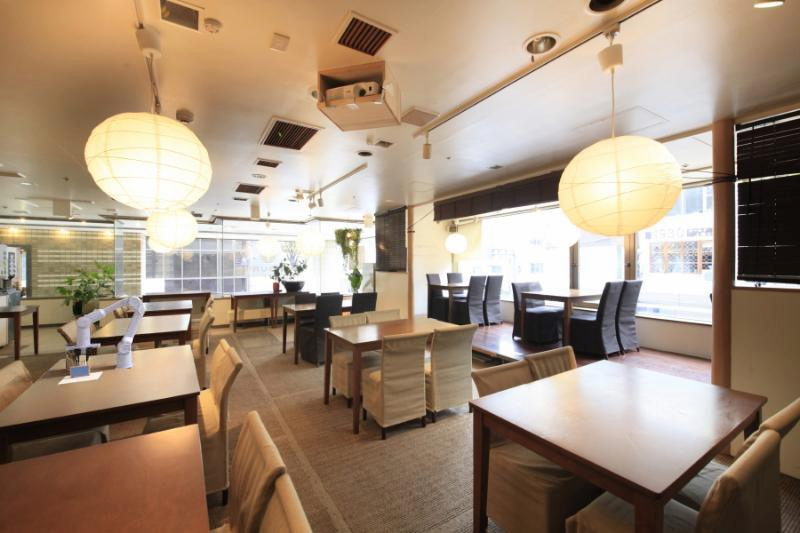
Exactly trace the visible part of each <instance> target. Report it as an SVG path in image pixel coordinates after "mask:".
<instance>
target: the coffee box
mask: <svg viewBox="0 0 800 533" xmlns="http://www.w3.org/2000/svg"><path fill="white" fill-rule="evenodd" d="M75 345H77V341H75V342H74V341H73V342H70V343H66V344H65V347H64V348H65V349H66V347H67V346H75ZM86 349H87V348H85V349H81V354H82V353H86ZM74 366H79V361H78V358H77V356H76V354H75V353H74V350H67V351H66V350H65V371H69V372H70V367H74Z"/></svg>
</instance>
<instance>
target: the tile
mask: <svg viewBox="0 0 800 533" xmlns="http://www.w3.org/2000/svg"><path fill="white" fill-rule="evenodd" d="M90 373H91V364H88V365H82V366H74V367H70V371H69V376H70V378H76V377H84V376H90Z"/></svg>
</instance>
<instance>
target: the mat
mask: <svg viewBox="0 0 800 533" xmlns="http://www.w3.org/2000/svg"><path fill="white" fill-rule="evenodd" d="M102 374H103V371H97V372H90V376H84V377H76V378H70V375H65V376H64V377H63V378H62V379H61V381H59V382H58V384H57V385H63V384H64V385H65V384H70V383H71V384H72V383H79V382H80V383H81V382H87V381H95V380H98V379H99V378H100V376H102Z"/></svg>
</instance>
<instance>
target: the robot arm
mask: <svg viewBox="0 0 800 533" xmlns="http://www.w3.org/2000/svg"><path fill="white" fill-rule="evenodd" d="M128 306H129V307H130V308H132V310H133V312H134V313H133V315H132V317H131V320H130V322H129V324H128V326H127V329H126V331H125V333H124V335H123V337H122V338H121V340H120V341H119V342H118V343H117V345H116V348H117V352H116V367H115V368H114V370H120V369H130V368H133V366H134V362H133V360H132V359H133V356H132V353H133V351H132V343H133V340H134V337H135V335H136V333H137V330H138V327H139V326H140V323H141V321H142V319H143V316H144V315H145V313H146V309H145V307H144V303H143V301H142V300H141V299H140V298H139V297H138V296H137V295H129V296H128V297H125V298H122V299H120V300H117V301H116V302H115V303H112V304H111V305H109V306H107V307H105V308H103V309H101V308H98V309H97V308H95V309H94V310H93V311H92V312H90V313H88V314H83V316H81V317H78V319H77V320H76V342H77V345H75V346H67V347H66V348H65V352H66V351H67V350H74V353H75V354H76V356H77V358H78V361H79V356H80V355H81V349H85V348H87V349H86V361H88V362H89V358H90V355H91V353H92V351H93V349H95V348H98V349H99V348H101V343H91V329H90V325H91V324H94V323H96V322H98V321H100V320H101V319H103V318H105V317H106V316H107V314H108V313H111V312H113V311H115V310H118V309H119V308H121V307H123V308H124V307H128Z"/></svg>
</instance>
